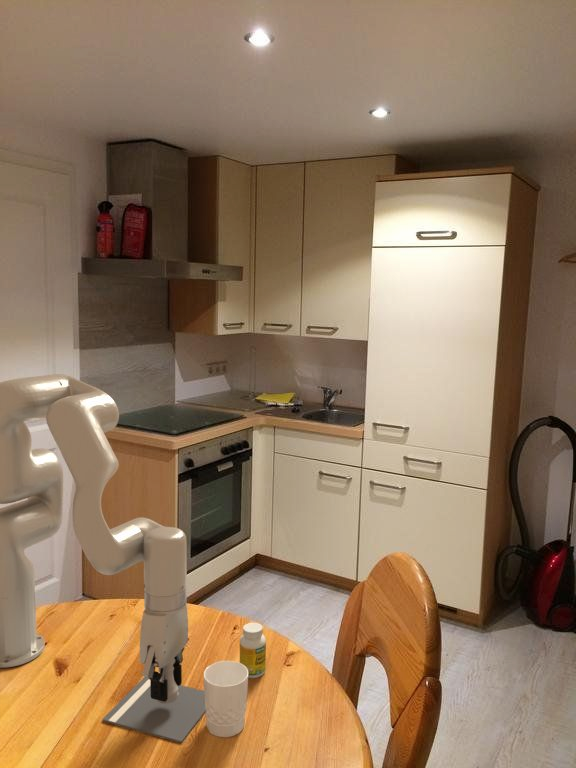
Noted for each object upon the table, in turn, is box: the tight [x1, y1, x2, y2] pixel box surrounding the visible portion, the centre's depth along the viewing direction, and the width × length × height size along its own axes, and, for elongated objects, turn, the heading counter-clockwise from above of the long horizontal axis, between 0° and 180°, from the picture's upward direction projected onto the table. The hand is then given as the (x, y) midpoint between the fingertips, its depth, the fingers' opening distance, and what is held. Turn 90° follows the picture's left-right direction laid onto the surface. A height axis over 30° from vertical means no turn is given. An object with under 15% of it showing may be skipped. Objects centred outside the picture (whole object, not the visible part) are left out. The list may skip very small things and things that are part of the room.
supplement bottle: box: [239, 622, 267, 679], centre depth 130 cm, size 5×5×10 cm
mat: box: [102, 676, 206, 744], centre depth 118 cm, size 16×14×1 cm
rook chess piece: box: [157, 658, 179, 703], centre depth 117 cm, size 4×4×8 cm
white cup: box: [203, 660, 249, 738], centre depth 114 cm, size 8×8×10 cm
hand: (166, 690), depth 118 cm, fingers closed on rook chess piece, 4 cm apart
